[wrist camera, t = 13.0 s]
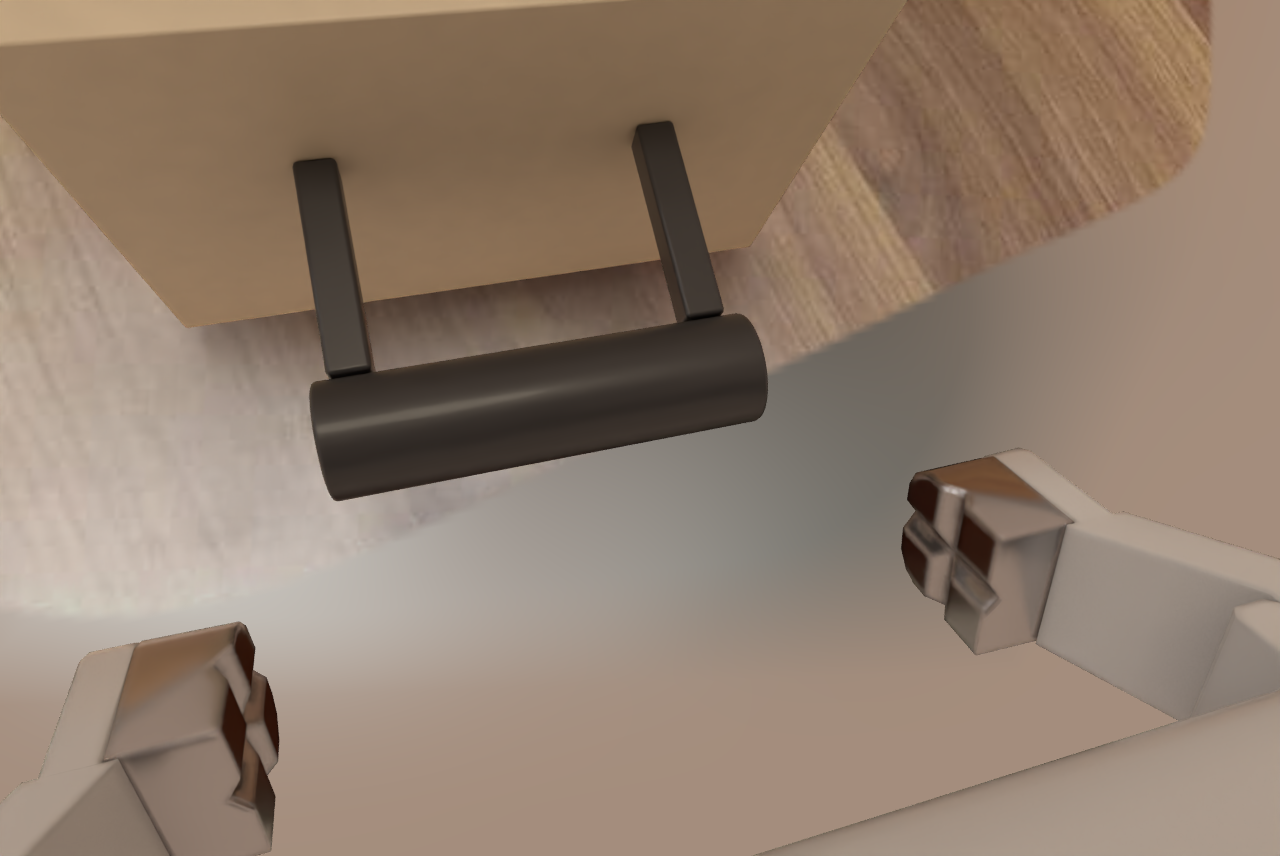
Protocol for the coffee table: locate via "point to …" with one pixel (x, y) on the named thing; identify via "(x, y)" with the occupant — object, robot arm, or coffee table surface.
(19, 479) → the coffee table surface
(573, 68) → the drawer
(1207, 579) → the robot arm
